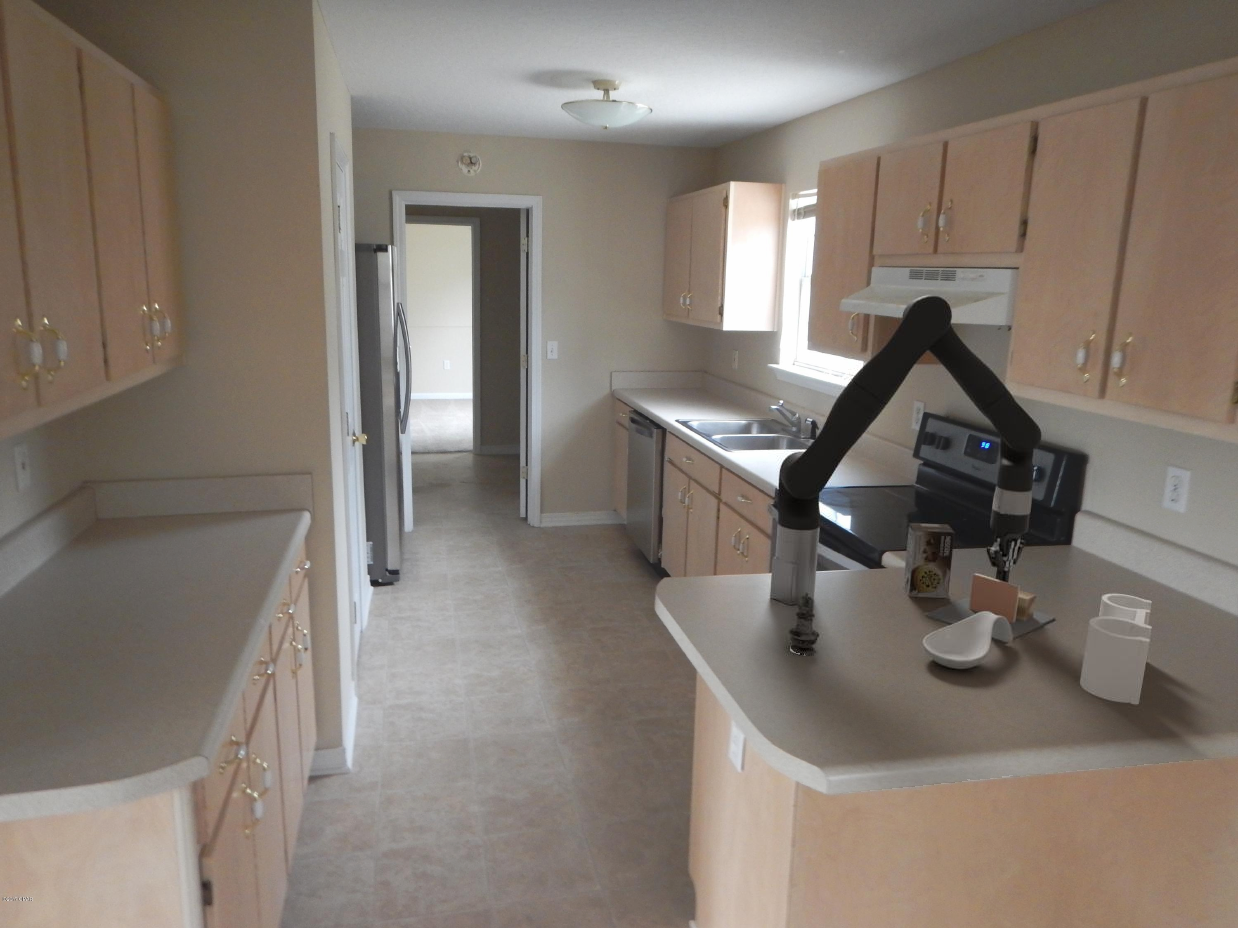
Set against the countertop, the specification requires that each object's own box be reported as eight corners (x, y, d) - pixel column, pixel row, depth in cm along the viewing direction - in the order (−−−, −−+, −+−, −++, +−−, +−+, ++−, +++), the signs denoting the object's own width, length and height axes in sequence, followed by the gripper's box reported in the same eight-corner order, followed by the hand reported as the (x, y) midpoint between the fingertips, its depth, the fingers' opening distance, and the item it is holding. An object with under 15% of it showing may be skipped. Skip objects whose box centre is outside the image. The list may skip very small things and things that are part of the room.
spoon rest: (965, 683, 162) (970, 646, 161) (909, 660, 171) (912, 626, 169) (1028, 648, 177) (1032, 615, 175) (973, 629, 186) (976, 597, 184)
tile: (1012, 624, 190) (1010, 593, 187) (969, 609, 198) (966, 580, 195) (1021, 615, 192) (1020, 584, 189) (978, 601, 200) (976, 571, 197)
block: (1024, 621, 191) (1027, 599, 190) (972, 604, 200) (974, 583, 199) (1033, 617, 194) (1036, 595, 193) (981, 600, 203) (984, 579, 202)
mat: (1004, 643, 180) (1004, 641, 180) (925, 615, 194) (925, 613, 194) (1055, 619, 194) (1055, 617, 194) (978, 594, 208) (978, 593, 208)
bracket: (1091, 645, 181) (1100, 589, 178) (1146, 658, 176) (1156, 600, 173) (1076, 692, 160) (1086, 629, 158) (1138, 707, 155) (1149, 642, 152)
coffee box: (941, 589, 210) (948, 523, 207) (948, 599, 204) (956, 531, 201) (901, 587, 211) (908, 521, 208) (907, 596, 205) (914, 529, 202)
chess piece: (819, 646, 176) (824, 589, 174) (816, 658, 171) (820, 599, 168) (789, 642, 178) (793, 585, 175) (785, 653, 172) (789, 595, 170)
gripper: (1009, 500, 198) (1000, 574, 202) (978, 509, 190) (969, 585, 194) (1043, 508, 192) (1032, 583, 196) (1012, 517, 184) (1002, 596, 188)
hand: (1001, 584), depth 195 cm, fingers closed
